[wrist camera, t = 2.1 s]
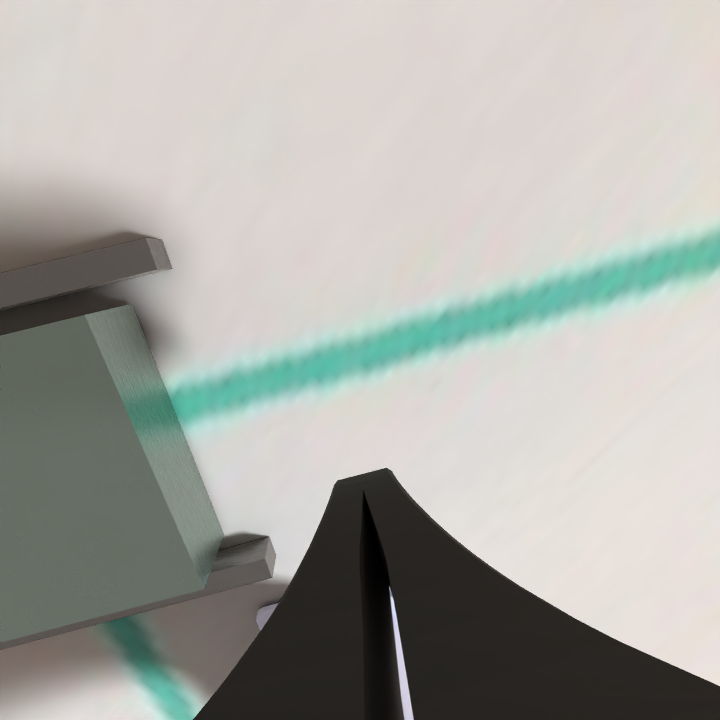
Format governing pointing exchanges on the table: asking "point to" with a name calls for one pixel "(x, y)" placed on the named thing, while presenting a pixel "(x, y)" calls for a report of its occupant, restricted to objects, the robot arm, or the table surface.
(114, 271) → the vise body
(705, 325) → the table surface
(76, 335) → the sliding jaw
